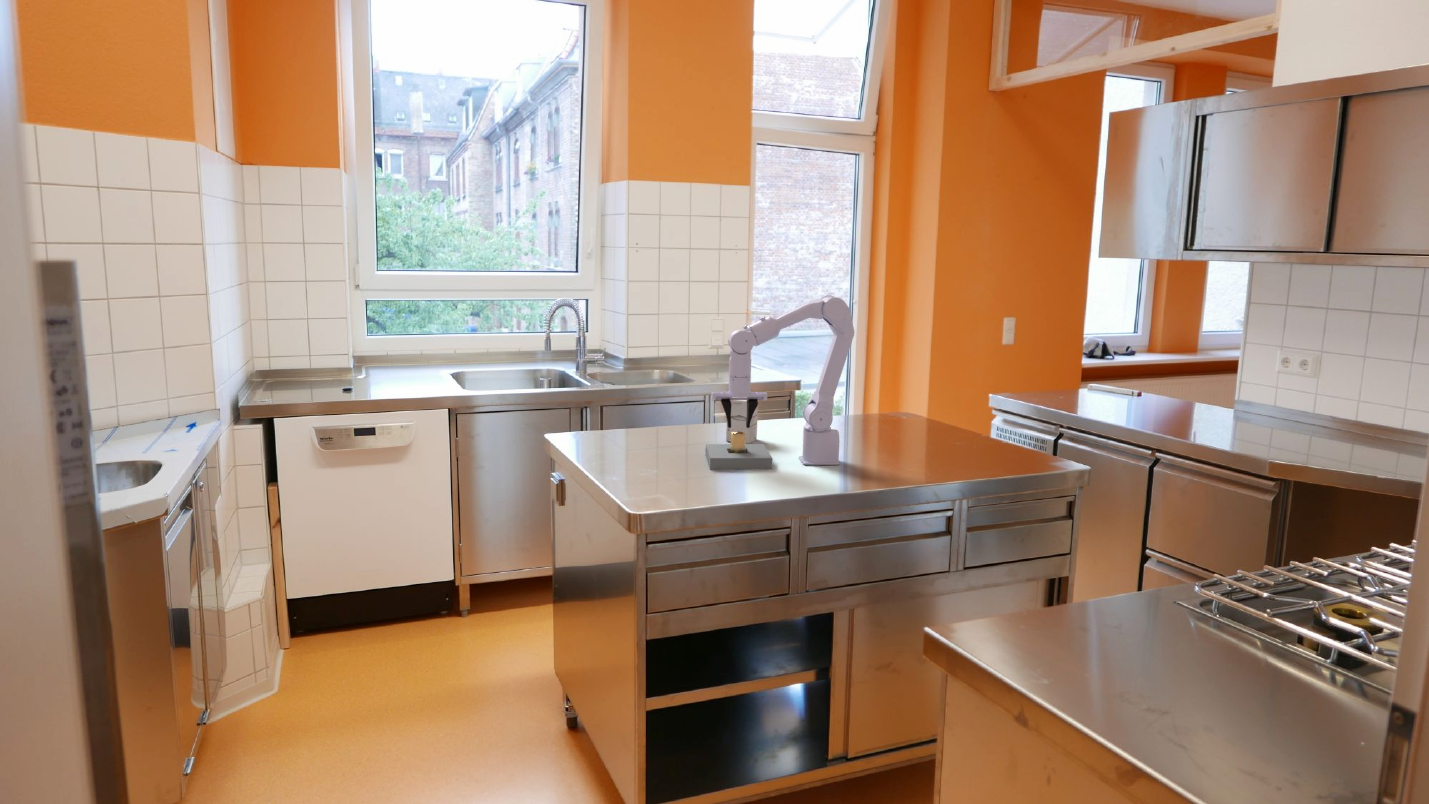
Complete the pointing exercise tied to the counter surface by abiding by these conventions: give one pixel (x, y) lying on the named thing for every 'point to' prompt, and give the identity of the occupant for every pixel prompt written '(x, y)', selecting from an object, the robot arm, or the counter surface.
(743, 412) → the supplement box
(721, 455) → the jig block
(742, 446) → the brass sleeve
